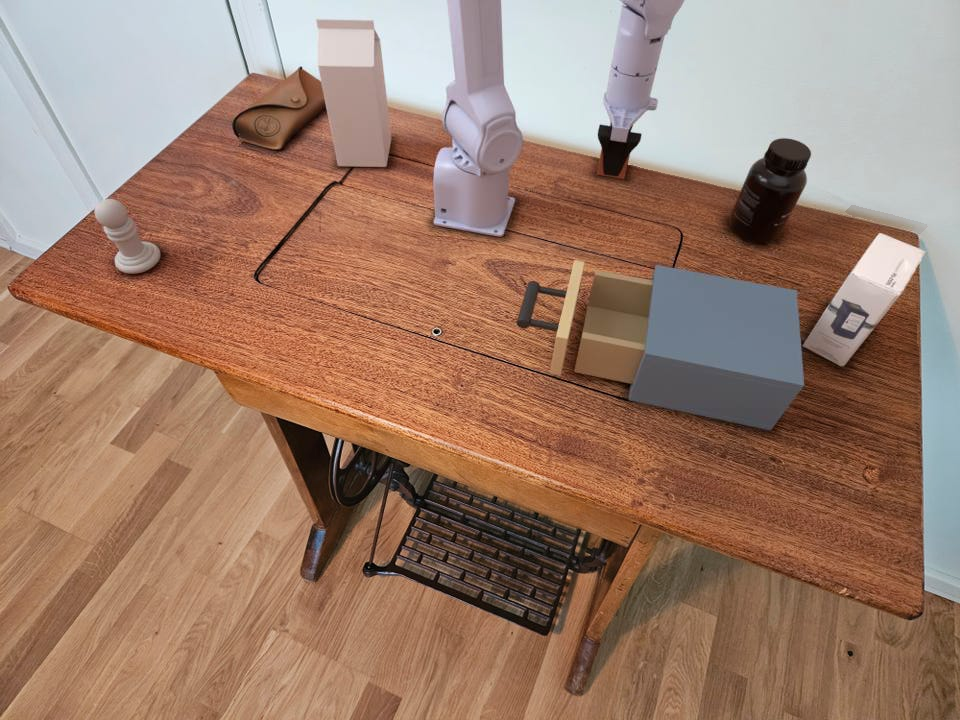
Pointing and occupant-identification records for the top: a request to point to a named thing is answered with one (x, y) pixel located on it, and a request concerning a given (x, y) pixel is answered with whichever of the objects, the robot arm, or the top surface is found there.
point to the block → (600, 172)
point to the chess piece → (126, 238)
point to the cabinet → (720, 348)
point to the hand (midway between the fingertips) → (614, 158)
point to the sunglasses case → (281, 111)
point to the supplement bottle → (770, 191)
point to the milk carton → (354, 91)
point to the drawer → (598, 323)
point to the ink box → (864, 298)
